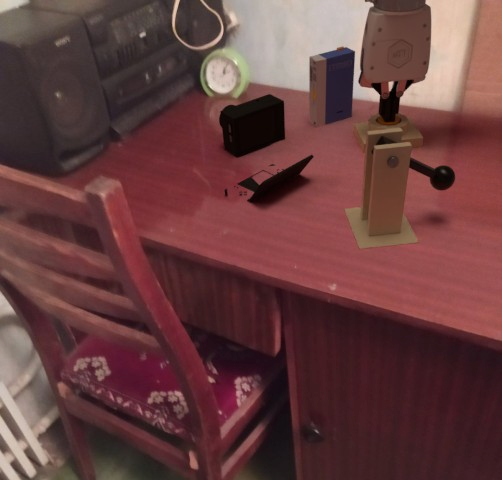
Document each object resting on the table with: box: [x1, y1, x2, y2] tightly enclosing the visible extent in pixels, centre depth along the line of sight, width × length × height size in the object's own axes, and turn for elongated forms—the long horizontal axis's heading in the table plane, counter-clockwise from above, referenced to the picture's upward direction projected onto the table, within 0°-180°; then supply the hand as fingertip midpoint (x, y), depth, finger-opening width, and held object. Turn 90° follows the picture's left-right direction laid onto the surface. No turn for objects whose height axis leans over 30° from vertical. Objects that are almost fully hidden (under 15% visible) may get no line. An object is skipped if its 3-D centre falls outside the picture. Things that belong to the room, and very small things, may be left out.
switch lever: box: [371, 136, 456, 191], centre depth 75 cm, size 12×3×3 cm
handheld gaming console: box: [224, 154, 314, 203], centre depth 90 cm, size 12×7×10 cm
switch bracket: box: [343, 128, 420, 250], centre depth 77 cm, size 8×10×14 cm
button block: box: [353, 112, 424, 154], centre depth 100 cm, size 10×8×4 cm
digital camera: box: [218, 93, 286, 158], centre depth 101 cm, size 10×5×7 cm, turn 124°
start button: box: [378, 116, 400, 126], centre depth 99 cm, size 4×4×2 cm
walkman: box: [308, 45, 356, 128], centre depth 104 cm, size 8×3×12 cm, turn 117°
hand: (387, 118), depth 99 cm, fingers closed
